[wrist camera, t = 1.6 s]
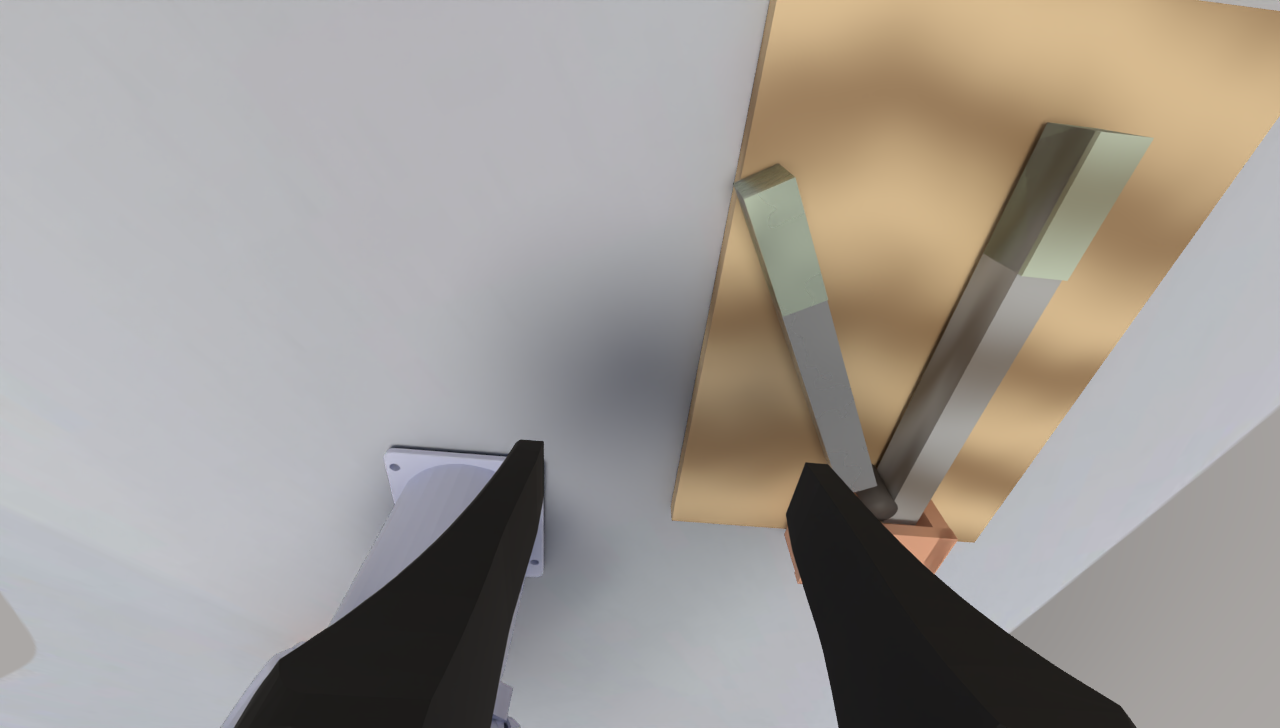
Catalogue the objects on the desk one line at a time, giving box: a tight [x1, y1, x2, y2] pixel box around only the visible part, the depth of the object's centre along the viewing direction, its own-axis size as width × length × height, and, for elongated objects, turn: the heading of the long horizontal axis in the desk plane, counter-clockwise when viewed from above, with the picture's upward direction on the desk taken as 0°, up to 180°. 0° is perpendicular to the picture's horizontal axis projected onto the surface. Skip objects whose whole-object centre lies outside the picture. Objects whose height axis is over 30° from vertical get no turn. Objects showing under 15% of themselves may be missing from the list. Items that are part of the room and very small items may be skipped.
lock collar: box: [784, 500, 958, 584], centre depth 23 cm, size 4×6×5 cm, turn 84°
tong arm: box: [733, 163, 877, 492], centre depth 19 cm, size 14×2×2 cm, turn 24°
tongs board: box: [671, 0, 1280, 542], centre depth 20 cm, size 24×17×4 cm
